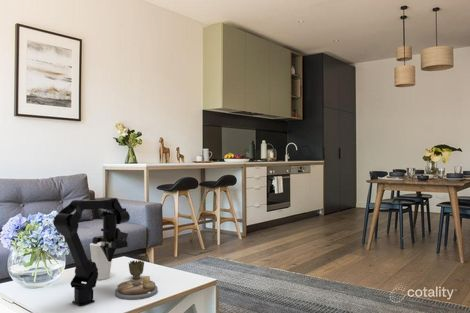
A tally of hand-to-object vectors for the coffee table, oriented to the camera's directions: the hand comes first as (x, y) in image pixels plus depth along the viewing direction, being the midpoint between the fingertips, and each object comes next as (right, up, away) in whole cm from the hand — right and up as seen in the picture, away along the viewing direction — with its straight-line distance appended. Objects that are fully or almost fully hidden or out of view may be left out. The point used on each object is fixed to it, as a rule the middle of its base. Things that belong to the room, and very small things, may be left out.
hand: (109, 261), depth 178 cm
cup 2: (+7, -13, +19) cm, 24 cm away
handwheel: (+12, -11, -2) cm, 17 cm away
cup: (-10, -13, +20) cm, 26 cm away
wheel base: (+12, -13, -2) cm, 18 cm away
